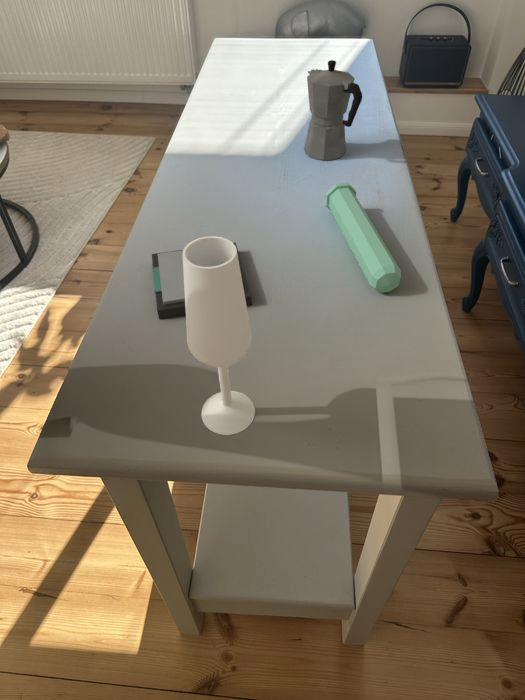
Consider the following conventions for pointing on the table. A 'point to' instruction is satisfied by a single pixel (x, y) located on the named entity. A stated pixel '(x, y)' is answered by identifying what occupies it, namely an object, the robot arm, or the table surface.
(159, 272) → the scale
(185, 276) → the champagne flute
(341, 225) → the container
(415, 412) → the table surface
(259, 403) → the table surface
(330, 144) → the coffeepot
